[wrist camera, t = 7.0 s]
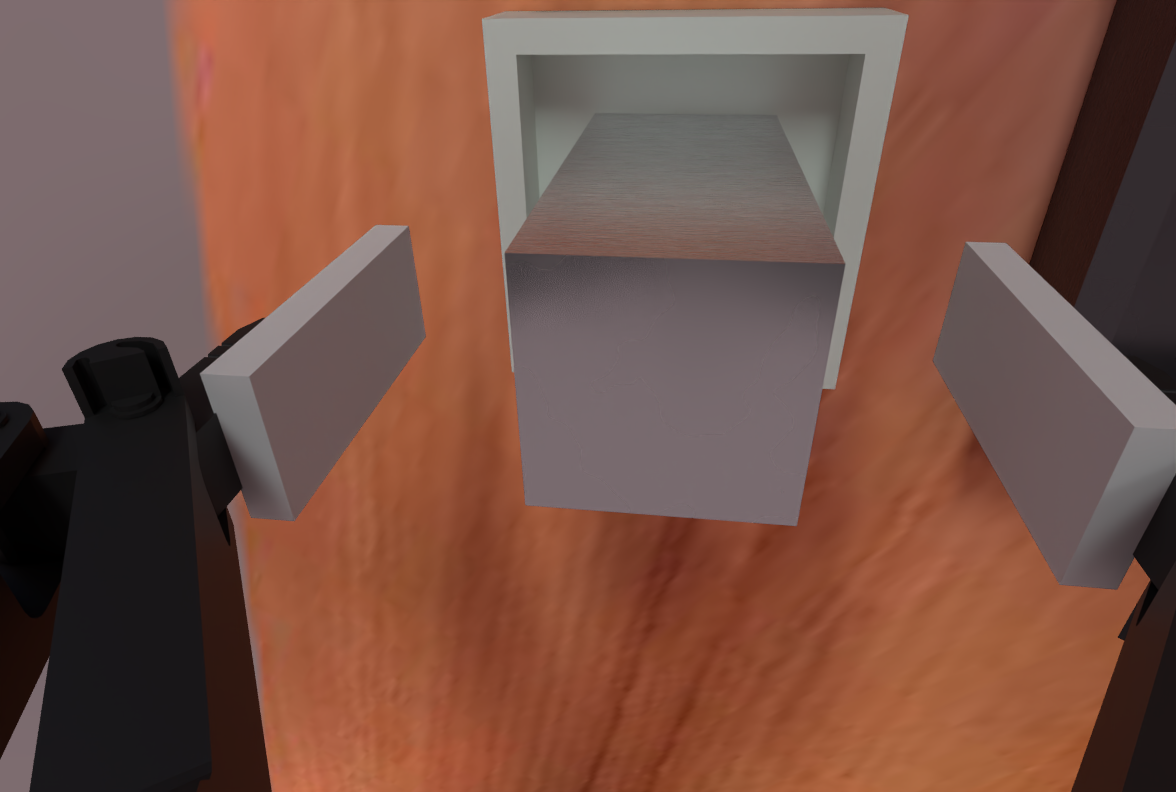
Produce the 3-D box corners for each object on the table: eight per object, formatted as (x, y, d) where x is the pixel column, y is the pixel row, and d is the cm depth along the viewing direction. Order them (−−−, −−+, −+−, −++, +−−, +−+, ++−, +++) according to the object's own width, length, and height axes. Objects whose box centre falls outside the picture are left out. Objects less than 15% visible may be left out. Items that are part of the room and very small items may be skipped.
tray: (505, 11, 19) (481, 18, 17) (884, 7, 18) (908, 15, 16) (527, 336, 25) (512, 371, 23) (822, 349, 24) (835, 389, 21)
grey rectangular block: (595, 113, 20) (504, 252, 11) (776, 114, 19) (845, 263, 10) (596, 278, 23) (525, 505, 13) (756, 285, 22) (796, 526, 13)
